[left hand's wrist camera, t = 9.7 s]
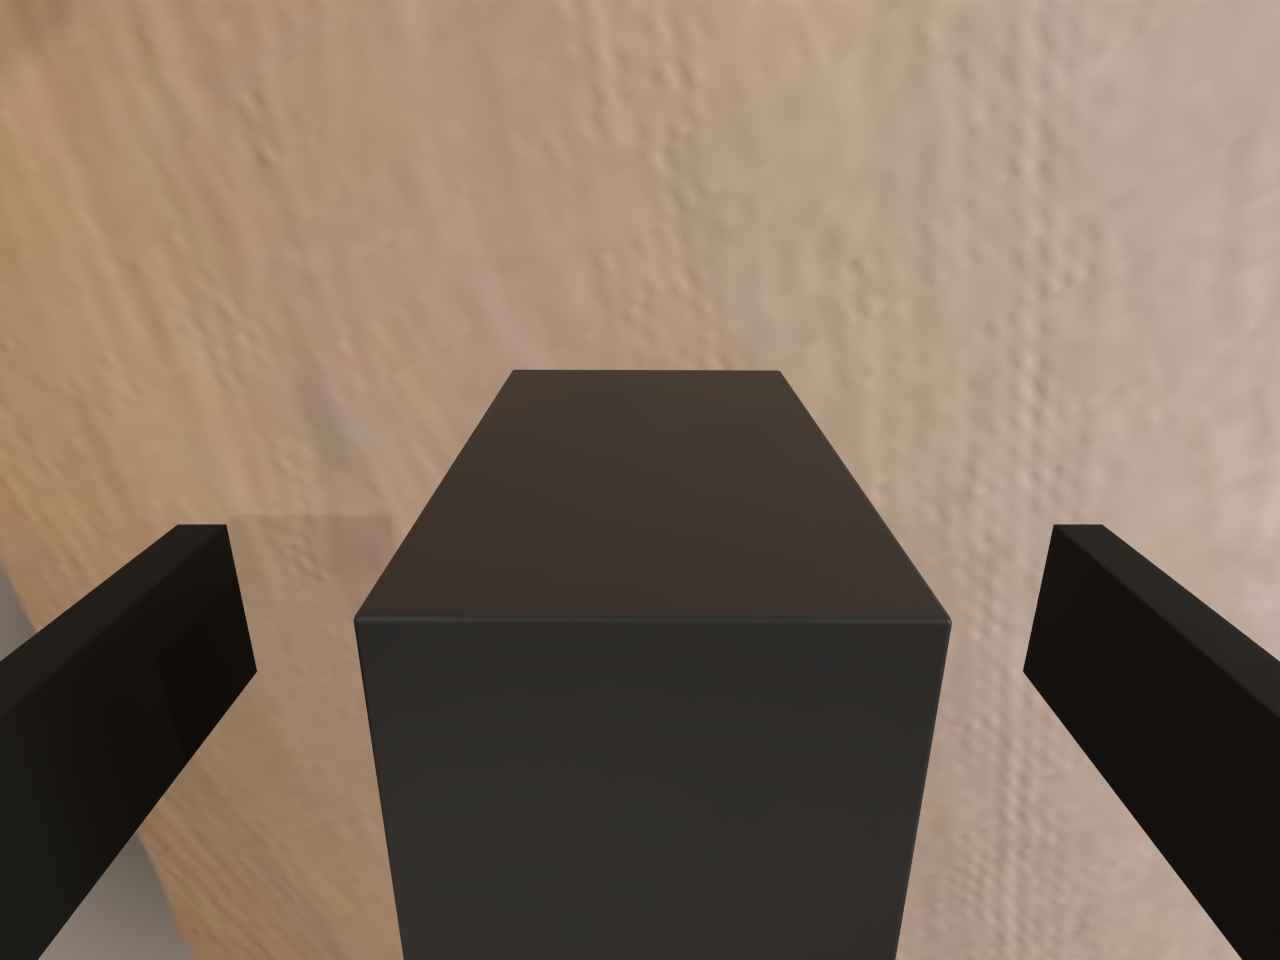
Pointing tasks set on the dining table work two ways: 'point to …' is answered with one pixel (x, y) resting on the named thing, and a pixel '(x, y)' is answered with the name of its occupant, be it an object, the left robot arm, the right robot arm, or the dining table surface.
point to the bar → (650, 683)
